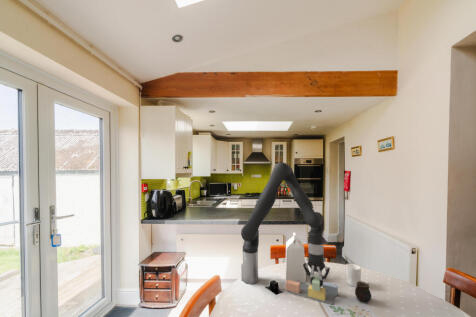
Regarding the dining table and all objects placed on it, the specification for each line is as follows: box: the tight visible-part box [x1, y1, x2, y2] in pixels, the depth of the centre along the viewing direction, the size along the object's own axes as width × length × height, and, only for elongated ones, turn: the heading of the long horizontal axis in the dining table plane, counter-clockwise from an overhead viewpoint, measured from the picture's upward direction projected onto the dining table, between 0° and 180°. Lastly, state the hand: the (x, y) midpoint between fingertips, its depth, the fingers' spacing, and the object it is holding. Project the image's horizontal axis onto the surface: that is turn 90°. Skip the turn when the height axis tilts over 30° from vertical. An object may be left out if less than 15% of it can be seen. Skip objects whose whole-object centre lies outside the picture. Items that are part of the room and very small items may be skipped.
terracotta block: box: [285, 280, 301, 293], centre depth 120 cm, size 7×4×4 cm, turn 60°
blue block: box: [322, 281, 339, 297], centre depth 117 cm, size 7×4×4 cm, turn 60°
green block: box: [311, 274, 322, 291], centre depth 114 cm, size 7×4×4 cm, turn 150°
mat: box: [288, 281, 336, 306], centre depth 118 cm, size 22×13×1 cm, turn 60°
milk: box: [285, 232, 307, 283], centre depth 136 cm, size 12×12×26 cm
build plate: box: [264, 279, 284, 296], centre depth 121 cm, size 12×7×5 cm, turn 33°
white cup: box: [345, 263, 362, 288], centre depth 126 cm, size 8×8×10 cm
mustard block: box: [308, 284, 326, 301], centre depth 113 cm, size 8×4×4 cm, turn 60°
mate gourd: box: [354, 281, 372, 304], centre depth 111 cm, size 7×8×10 cm
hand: (316, 285), depth 114 cm, fingers closed on green block, 3 cm apart
